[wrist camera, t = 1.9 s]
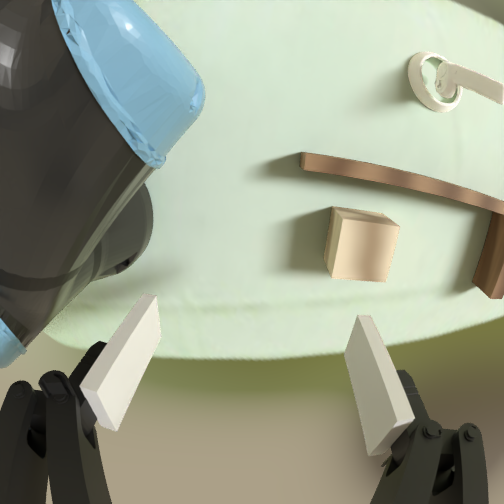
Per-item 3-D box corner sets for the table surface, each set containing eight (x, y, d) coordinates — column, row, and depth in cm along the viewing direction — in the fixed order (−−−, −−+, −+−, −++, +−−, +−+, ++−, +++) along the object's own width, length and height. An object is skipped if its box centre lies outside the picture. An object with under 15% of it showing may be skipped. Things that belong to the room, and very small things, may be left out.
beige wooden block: (323, 257, 31) (331, 278, 27) (331, 206, 29) (343, 218, 24) (371, 262, 31) (385, 282, 26) (381, 212, 29) (400, 226, 24)
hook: (503, 148, 19) (494, 137, 16) (423, 108, 27) (397, 95, 24) (517, 91, 15) (509, 68, 12) (434, 59, 23) (409, 38, 20)
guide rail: (286, 264, 32) (289, 286, 27) (301, 151, 27) (307, 154, 22) (487, 282, 31) (505, 299, 26) (510, 204, 26) (532, 214, 21)
